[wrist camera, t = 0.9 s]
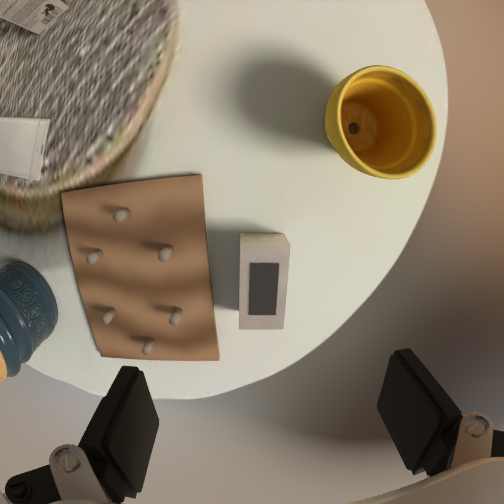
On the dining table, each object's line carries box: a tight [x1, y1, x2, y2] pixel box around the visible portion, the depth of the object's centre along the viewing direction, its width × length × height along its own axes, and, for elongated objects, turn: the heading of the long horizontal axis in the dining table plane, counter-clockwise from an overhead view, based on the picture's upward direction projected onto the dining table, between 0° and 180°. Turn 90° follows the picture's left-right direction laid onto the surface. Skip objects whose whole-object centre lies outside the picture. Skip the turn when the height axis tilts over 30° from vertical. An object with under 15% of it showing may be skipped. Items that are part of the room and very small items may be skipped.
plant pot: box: [325, 65, 437, 179], centre depth 25 cm, size 10×10×10 cm
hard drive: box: [0, 117, 50, 181], centre depth 28 cm, size 2×8×12 cm
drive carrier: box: [239, 233, 290, 329], centre depth 33 cm, size 10×5×5 cm, turn 178°
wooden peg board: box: [61, 175, 220, 361], centre depth 33 cm, size 24×18×4 cm
